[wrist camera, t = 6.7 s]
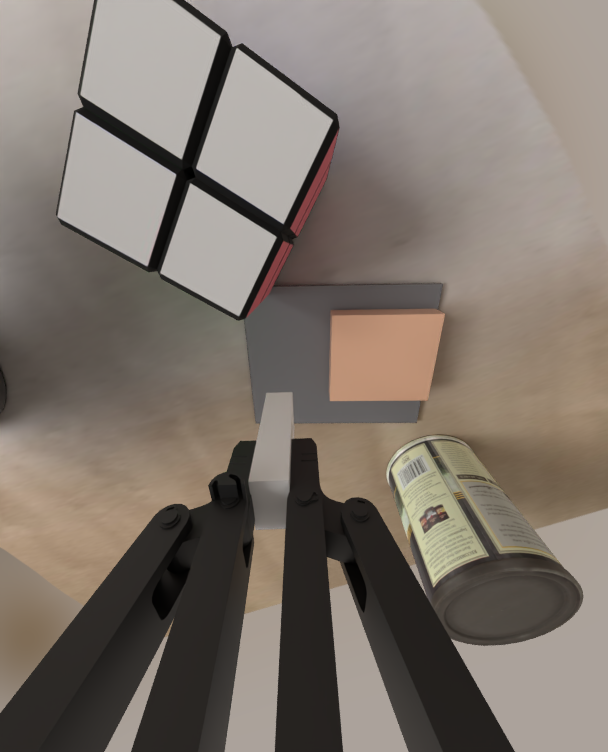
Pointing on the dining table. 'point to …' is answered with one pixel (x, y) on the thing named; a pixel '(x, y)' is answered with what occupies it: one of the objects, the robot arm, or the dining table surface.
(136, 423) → the dining table surface
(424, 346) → the tile
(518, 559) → the coffee can
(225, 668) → the robot arm
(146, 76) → the puzzle cube
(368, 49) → the dining table surface
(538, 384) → the dining table surface
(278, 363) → the mat
